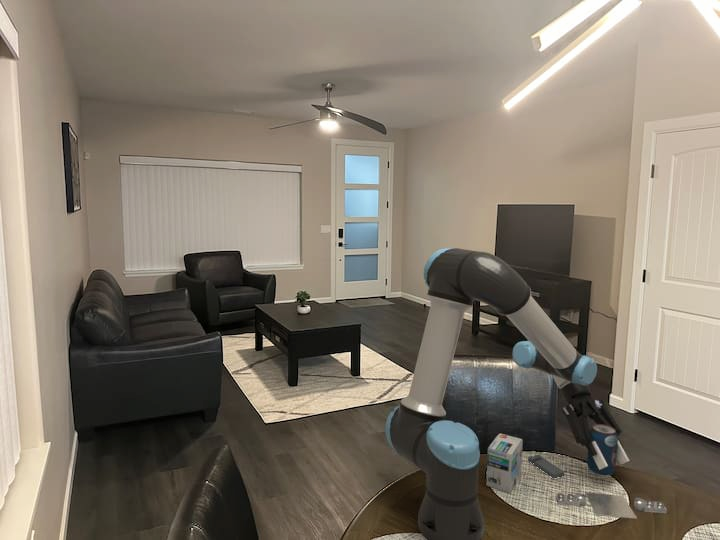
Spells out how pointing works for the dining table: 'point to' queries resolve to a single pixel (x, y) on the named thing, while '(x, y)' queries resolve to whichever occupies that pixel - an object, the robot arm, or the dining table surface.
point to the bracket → (546, 466)
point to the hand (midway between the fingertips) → (614, 465)
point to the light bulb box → (504, 462)
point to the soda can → (604, 448)
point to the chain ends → (611, 504)
